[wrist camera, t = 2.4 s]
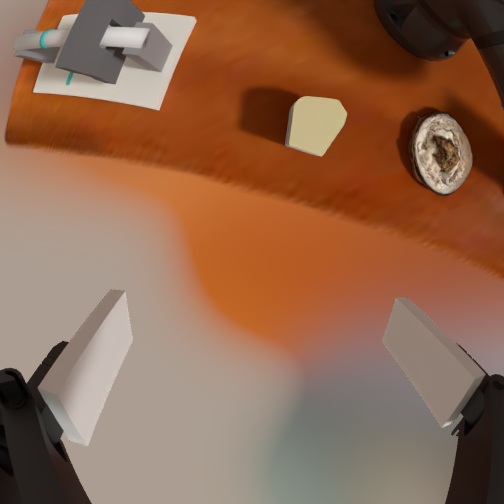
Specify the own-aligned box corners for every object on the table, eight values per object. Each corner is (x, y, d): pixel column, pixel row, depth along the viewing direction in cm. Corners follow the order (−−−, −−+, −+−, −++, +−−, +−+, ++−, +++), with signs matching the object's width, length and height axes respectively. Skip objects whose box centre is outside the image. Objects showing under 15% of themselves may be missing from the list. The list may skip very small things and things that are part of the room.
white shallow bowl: (478, 174, 33) (494, 178, 29) (422, 216, 36) (436, 224, 33) (447, 93, 29) (462, 90, 25) (382, 128, 32) (396, 127, 28)
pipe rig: (68, 18, 23) (30, -1, 13) (196, 21, 26) (177, -17, 16) (38, 92, 28) (-7, 89, 18) (159, 110, 31) (123, 98, 21)
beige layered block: (328, 173, 34) (341, 177, 29) (263, 152, 34) (265, 152, 28) (349, 104, 31) (364, 98, 26) (284, 81, 30) (290, 70, 25)
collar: (135, 15, 22) (97, -20, 12) (145, 15, 22) (109, -21, 12) (106, 83, 25) (54, 67, 15) (115, 84, 25) (65, 67, 16)
